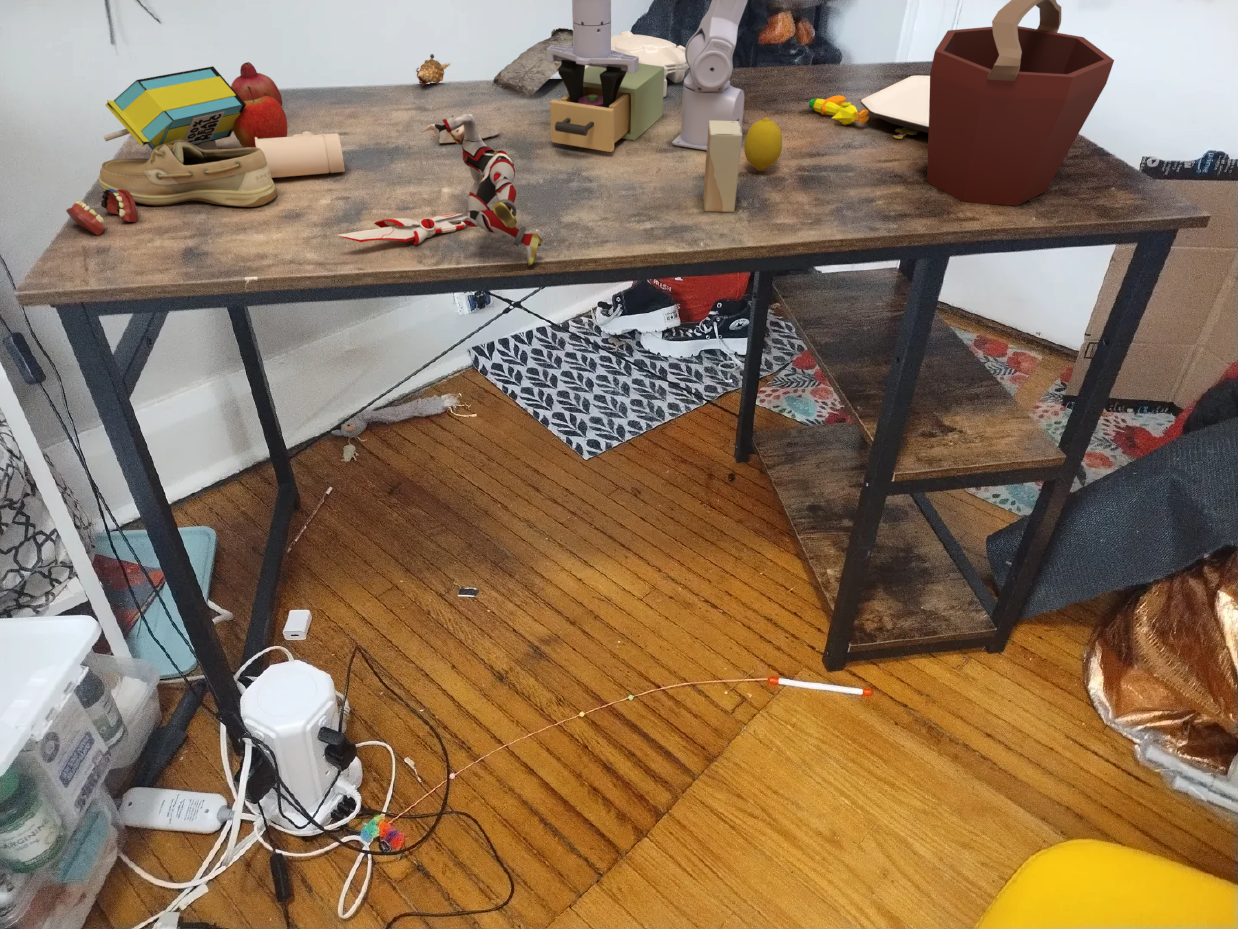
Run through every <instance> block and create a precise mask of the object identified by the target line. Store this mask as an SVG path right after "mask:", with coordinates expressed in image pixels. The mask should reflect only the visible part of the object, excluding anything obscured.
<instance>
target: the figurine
mask: <svg viewBox="0 0 1238 929" xmlns="http://www.w3.org/2000/svg"><path fill="white" fill-rule="evenodd" d="M429 57H430V59H424V63H422V64H421V65H420V67H416V68H415V69H416V70H415V69H414V71H415V72H416V75H415V76H416V78H417V79H418V85H419V84H420V85H421V86H420V87H423V86H426V85H427V84H430V83H435V84H437V85H438V84H439V83H440V82H442V81H444V75H445V70H446V69H447V68H448V67H450V65H451V61H450V62H446V63H444V64H441V63H440V61H438V60H435V55H434V53H430V55H429ZM423 88H425V87H423Z"/></svg>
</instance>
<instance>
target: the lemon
mask: <svg viewBox="0 0 1238 929" xmlns="http://www.w3.org/2000/svg"><path fill="white" fill-rule="evenodd" d="M780 128H781V127H779V126H778V124H777V123H776V122H775V121H773V120H771V119H770V118H769V117H764V118H762V119H759V120H757V121H755V122H754V123H753V124H751V126H750V127H749V129H748V131H747V133H746V137H745V140H744V147H743V148H744V149H743V150H744V155H745V159H746V161H747V162H748V164H749V165H751V166H752V167H754V168H756V170H757V171H758V172H763V171H765V169H767V168H768V169H769V168H770V167H772V166H773V165H774V164H776V162H777V161H778V159H779V158H780V156H781V153H782V148H783V136H782V131H781V129H780Z"/></svg>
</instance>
